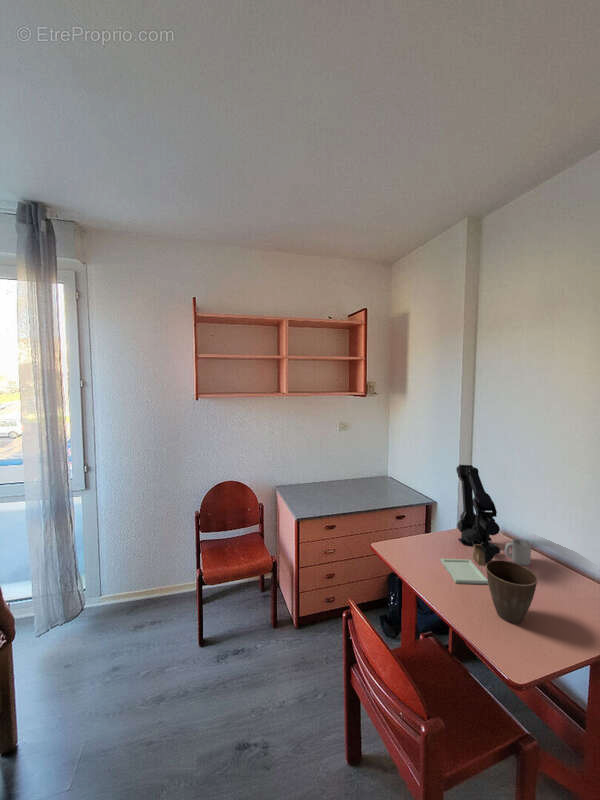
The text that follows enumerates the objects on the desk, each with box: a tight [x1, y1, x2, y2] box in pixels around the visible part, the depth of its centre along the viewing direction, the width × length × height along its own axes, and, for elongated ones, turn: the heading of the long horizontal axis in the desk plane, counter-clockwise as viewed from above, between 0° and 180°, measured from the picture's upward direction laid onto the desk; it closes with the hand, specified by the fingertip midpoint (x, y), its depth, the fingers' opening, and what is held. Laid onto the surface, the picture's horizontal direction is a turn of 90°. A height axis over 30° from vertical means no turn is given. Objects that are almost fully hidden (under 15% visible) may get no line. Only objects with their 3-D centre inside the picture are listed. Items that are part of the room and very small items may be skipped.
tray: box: [440, 558, 489, 586], centre depth 140 cm, size 16×13×2 cm
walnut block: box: [472, 543, 486, 566], centre depth 148 cm, size 5×5×7 cm
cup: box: [504, 538, 532, 566], centre depth 149 cm, size 7×10×9 cm
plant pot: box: [485, 559, 538, 624], centre depth 113 cm, size 15×15×16 cm
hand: (481, 558), depth 148 cm, fingers open, 9 cm apart
